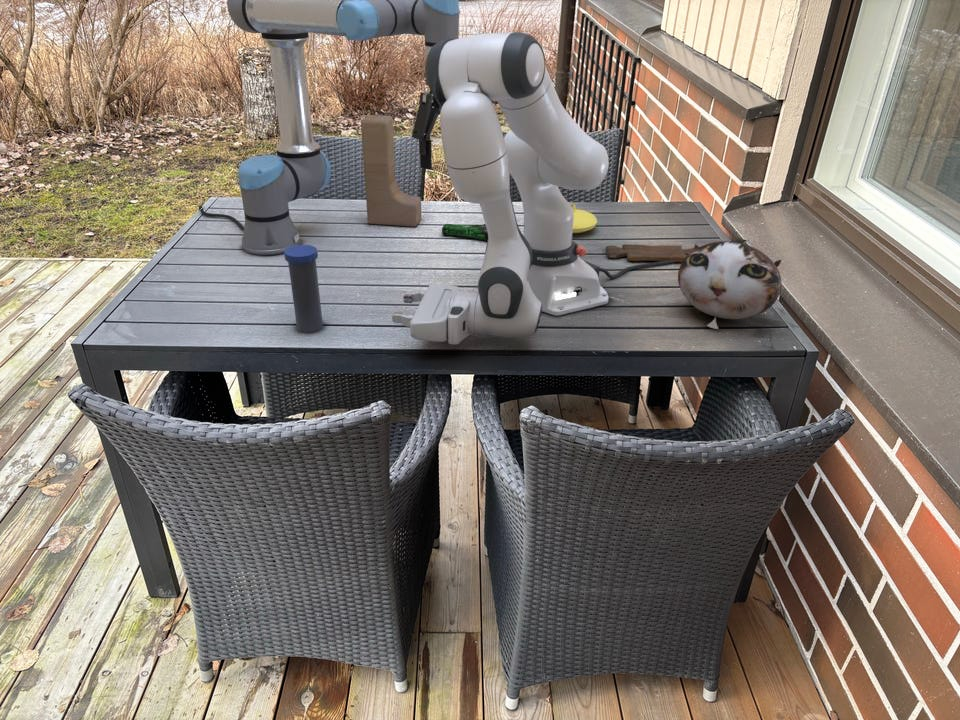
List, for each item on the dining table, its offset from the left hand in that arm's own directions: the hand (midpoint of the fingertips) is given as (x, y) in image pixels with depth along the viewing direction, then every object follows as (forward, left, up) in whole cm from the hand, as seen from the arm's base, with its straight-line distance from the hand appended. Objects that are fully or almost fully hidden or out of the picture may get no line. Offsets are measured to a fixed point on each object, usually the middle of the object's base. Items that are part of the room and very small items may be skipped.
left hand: (443, 161), depth 169 cm
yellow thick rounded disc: (+12, +46, -28) cm, 55 cm away
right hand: (+12, -33, -21) cm, 41 cm away
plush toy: (+67, +16, -28) cm, 74 cm away
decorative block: (-33, +21, -28) cm, 48 cm away
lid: (-6, -42, -10) cm, 43 cm away
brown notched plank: (+41, +41, -28) cm, 64 cm away
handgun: (-9, +28, -28) cm, 40 cm away
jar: (-6, -42, -28) cm, 51 cm away
